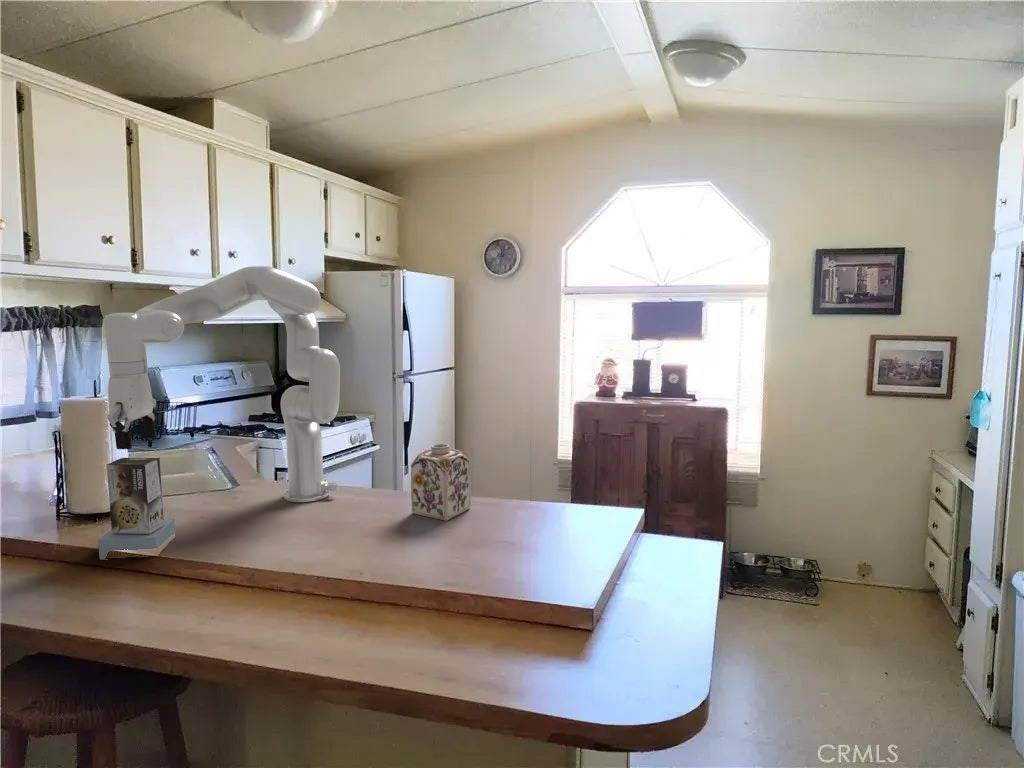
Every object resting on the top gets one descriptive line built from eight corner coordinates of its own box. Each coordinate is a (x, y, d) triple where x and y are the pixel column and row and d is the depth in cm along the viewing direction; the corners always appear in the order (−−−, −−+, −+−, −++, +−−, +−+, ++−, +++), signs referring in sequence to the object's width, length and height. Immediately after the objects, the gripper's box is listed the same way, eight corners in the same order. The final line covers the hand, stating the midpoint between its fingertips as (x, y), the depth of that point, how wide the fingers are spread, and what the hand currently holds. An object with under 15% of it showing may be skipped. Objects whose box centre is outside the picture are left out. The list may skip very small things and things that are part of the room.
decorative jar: (446, 522, 174) (445, 453, 172) (410, 514, 180) (408, 447, 177) (472, 508, 185) (471, 443, 182) (437, 501, 190) (435, 438, 188)
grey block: (176, 538, 165) (174, 518, 165) (157, 558, 154) (155, 537, 153) (122, 541, 164) (121, 520, 163) (100, 561, 152) (97, 540, 151)
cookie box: (165, 525, 160) (161, 457, 158) (149, 534, 154) (145, 464, 152) (126, 524, 160) (122, 456, 158) (109, 533, 154) (105, 463, 152)
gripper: (134, 363, 162) (141, 434, 165) (87, 374, 145) (97, 453, 148) (165, 362, 162) (172, 433, 164) (122, 374, 145) (131, 453, 147)
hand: (136, 443), depth 156 cm, fingers open, 9 cm apart
